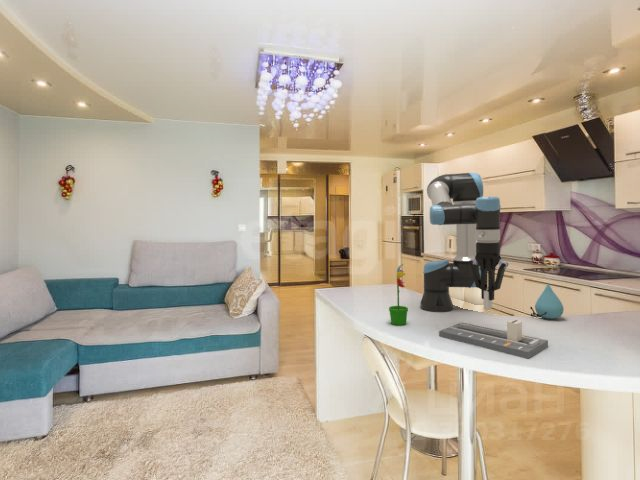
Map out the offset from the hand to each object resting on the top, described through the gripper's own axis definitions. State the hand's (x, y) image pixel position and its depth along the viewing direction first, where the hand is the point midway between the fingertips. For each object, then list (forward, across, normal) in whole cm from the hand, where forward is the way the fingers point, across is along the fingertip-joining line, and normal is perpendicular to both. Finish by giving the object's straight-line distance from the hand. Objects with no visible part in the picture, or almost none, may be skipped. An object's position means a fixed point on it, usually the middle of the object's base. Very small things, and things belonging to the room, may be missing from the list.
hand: (487, 308), depth 123 cm
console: (+11, +1, -1) cm, 11 cm away
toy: (+12, +4, +46) cm, 48 cm away
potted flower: (+12, -35, -6) cm, 37 cm away
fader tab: (+9, +9, -1) cm, 13 cm away
